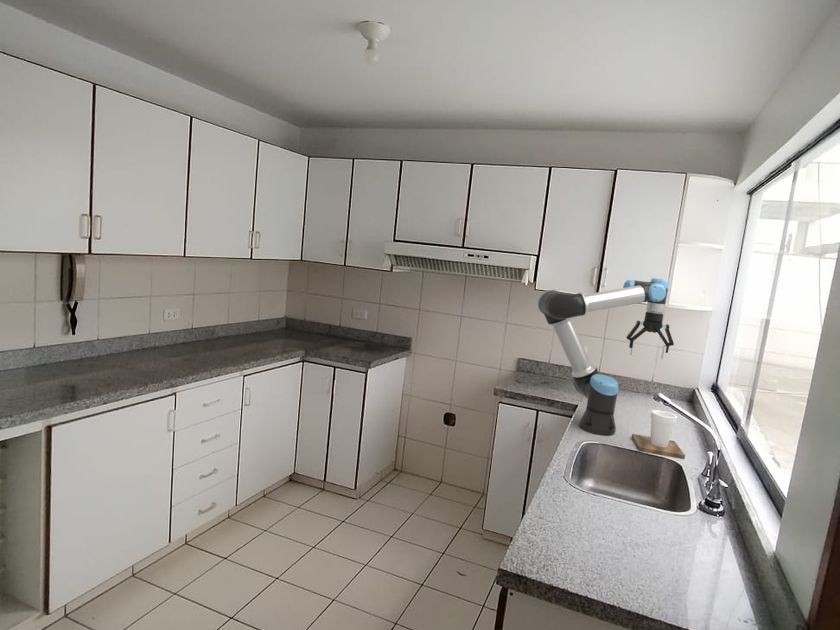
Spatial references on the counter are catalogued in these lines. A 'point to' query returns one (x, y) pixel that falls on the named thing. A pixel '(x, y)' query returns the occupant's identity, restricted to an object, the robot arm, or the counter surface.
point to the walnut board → (646, 446)
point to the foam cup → (661, 427)
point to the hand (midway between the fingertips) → (646, 357)
